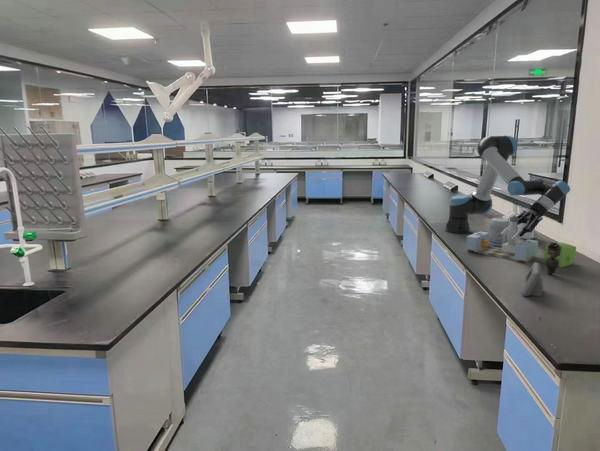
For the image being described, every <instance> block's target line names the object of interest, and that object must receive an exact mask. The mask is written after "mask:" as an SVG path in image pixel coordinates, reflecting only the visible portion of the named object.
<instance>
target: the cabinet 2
mask: <svg viewBox="0 0 600 451" xmlns="http://www.w3.org/2000/svg"><path fill="white" fill-rule="evenodd" d="M538 248H539V240H534V239H525V240H522V242H519V243H517V245H516V247H515V256H514V259H518V260H523V261H525V260H527V259H529V258H531V257H533V256H534V255H535V256H536V255H537V254H538Z"/></svg>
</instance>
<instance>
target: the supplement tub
mask: <svg viewBox="0 0 600 451" xmlns="http://www.w3.org/2000/svg"><path fill="white" fill-rule="evenodd" d="M509 222H510V219H509V220H508V219H507V218H501V217H493V218H491V219H490V222H489V223H490V224H489V232H488V233H489V245H491V246H493V247H502V244H504V243H508V235H506V236H505V237H504V236H503V235H502V234H501V233H502V232H503V231H504V230H505V229H506V228H507V227H508V226H509V225H510V223H509Z"/></svg>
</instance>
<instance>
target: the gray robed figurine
mask: <svg viewBox="0 0 600 451" xmlns="http://www.w3.org/2000/svg"><path fill="white" fill-rule="evenodd" d="M541 272H542V270H541V264H540V263H539V262H534V263H533V264H532V266H531V268H530V269H529V270H528V272H527V274H526V276H525V277H524V279H523V280H522V286H521V288H522V289H521V294H522V295H523V296H524V297H529V296H535V297H543V290H544V289H543V287H544V285H543V284H544V283H543V278H542V277H541V276H542V273H541Z"/></svg>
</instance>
